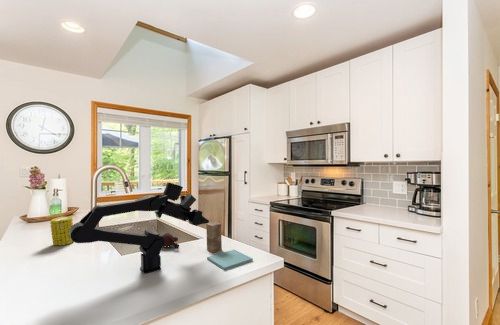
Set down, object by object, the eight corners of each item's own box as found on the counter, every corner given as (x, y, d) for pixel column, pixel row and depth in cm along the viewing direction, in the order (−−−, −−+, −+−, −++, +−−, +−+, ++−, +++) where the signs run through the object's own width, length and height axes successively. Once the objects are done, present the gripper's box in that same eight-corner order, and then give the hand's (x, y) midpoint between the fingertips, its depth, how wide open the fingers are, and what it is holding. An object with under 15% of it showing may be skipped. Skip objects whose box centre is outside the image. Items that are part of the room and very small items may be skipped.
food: (78, 243, 140) (61, 251, 130) (60, 238, 141) (42, 245, 131) (81, 217, 138) (65, 222, 128) (63, 211, 140) (45, 217, 130)
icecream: (148, 234, 126) (171, 241, 120) (159, 227, 133) (182, 233, 126) (151, 246, 128) (173, 253, 122) (161, 239, 134) (184, 245, 128)
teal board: (224, 270, 98) (224, 267, 98) (207, 259, 110) (207, 257, 110) (252, 260, 107) (252, 258, 107) (234, 251, 118) (234, 249, 118)
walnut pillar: (212, 252, 117) (212, 225, 117) (207, 249, 121) (206, 223, 121) (221, 250, 121) (221, 223, 120) (215, 247, 124) (215, 221, 124)
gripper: (190, 193, 102) (220, 205, 111) (172, 190, 116) (200, 200, 125) (179, 220, 99) (211, 230, 108) (162, 213, 114) (191, 222, 123)
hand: (203, 219), depth 116 cm, fingers open, 9 cm apart
